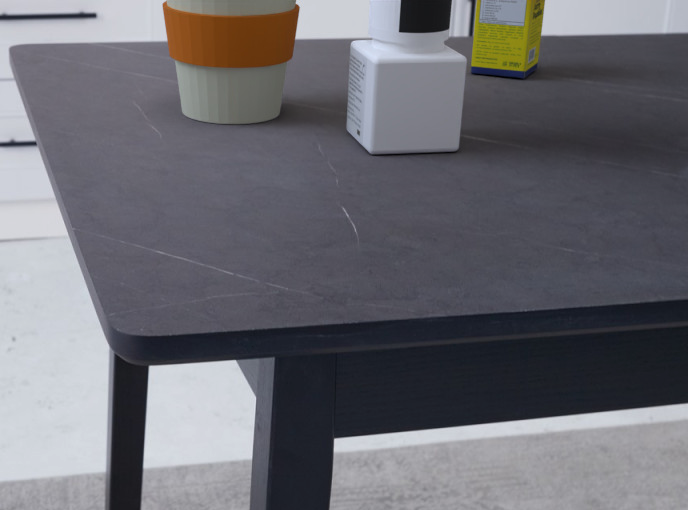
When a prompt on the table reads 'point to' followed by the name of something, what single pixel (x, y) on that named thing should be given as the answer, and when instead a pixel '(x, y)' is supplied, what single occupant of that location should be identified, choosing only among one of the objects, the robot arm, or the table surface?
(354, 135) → the container
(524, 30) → the supplement box
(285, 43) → the reusable coffee cup
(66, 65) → the table surface
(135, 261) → the table surface
